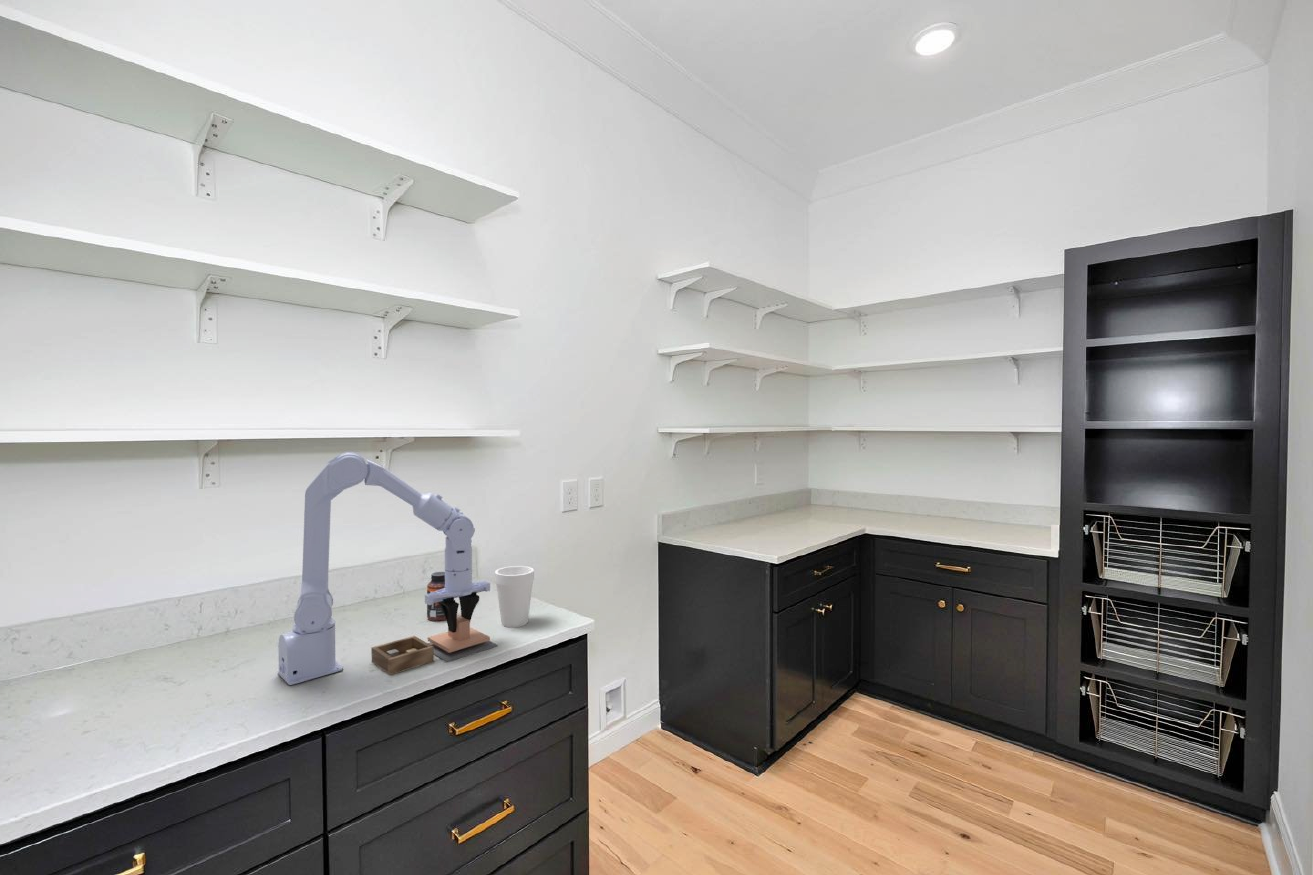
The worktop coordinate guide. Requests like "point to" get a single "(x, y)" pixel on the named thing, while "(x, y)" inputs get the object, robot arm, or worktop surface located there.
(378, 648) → the box
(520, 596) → the foam cup
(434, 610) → the supplement bottle
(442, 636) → the lid
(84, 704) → the worktop surface
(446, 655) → the mat
